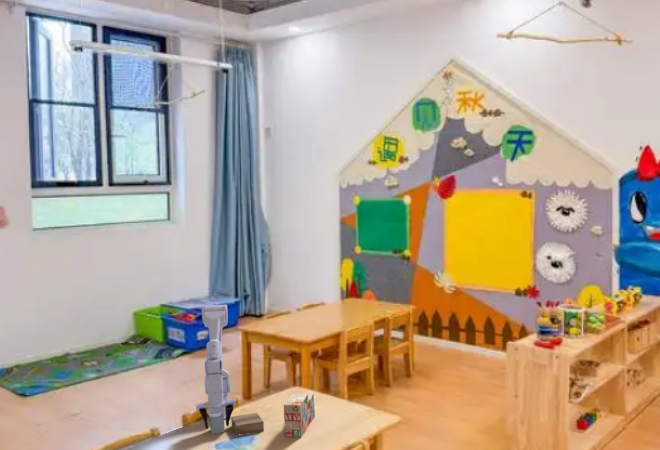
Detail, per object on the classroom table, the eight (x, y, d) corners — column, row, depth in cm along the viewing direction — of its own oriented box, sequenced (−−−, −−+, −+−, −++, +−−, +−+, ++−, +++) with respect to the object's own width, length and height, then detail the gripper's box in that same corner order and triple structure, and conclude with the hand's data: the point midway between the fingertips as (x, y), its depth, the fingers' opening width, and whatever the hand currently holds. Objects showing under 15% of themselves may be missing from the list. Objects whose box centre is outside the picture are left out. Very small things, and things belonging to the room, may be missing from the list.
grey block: (210, 430, 253) (209, 414, 252) (222, 428, 254) (221, 412, 254) (212, 434, 248) (211, 418, 248) (224, 432, 250) (223, 416, 249)
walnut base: (231, 427, 256) (231, 416, 255) (257, 423, 259) (257, 412, 259) (237, 436, 246) (236, 425, 246) (263, 432, 250) (263, 421, 249)
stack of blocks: (299, 416, 264) (298, 385, 263) (315, 416, 263) (313, 385, 262) (284, 437, 243) (283, 404, 242) (301, 438, 242) (300, 404, 241)
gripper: (196, 396, 244) (198, 433, 245) (236, 391, 248) (238, 427, 249) (194, 390, 251) (196, 426, 252) (233, 385, 255) (235, 420, 256)
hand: (217, 426), depth 251 cm, fingers open, 7 cm apart
